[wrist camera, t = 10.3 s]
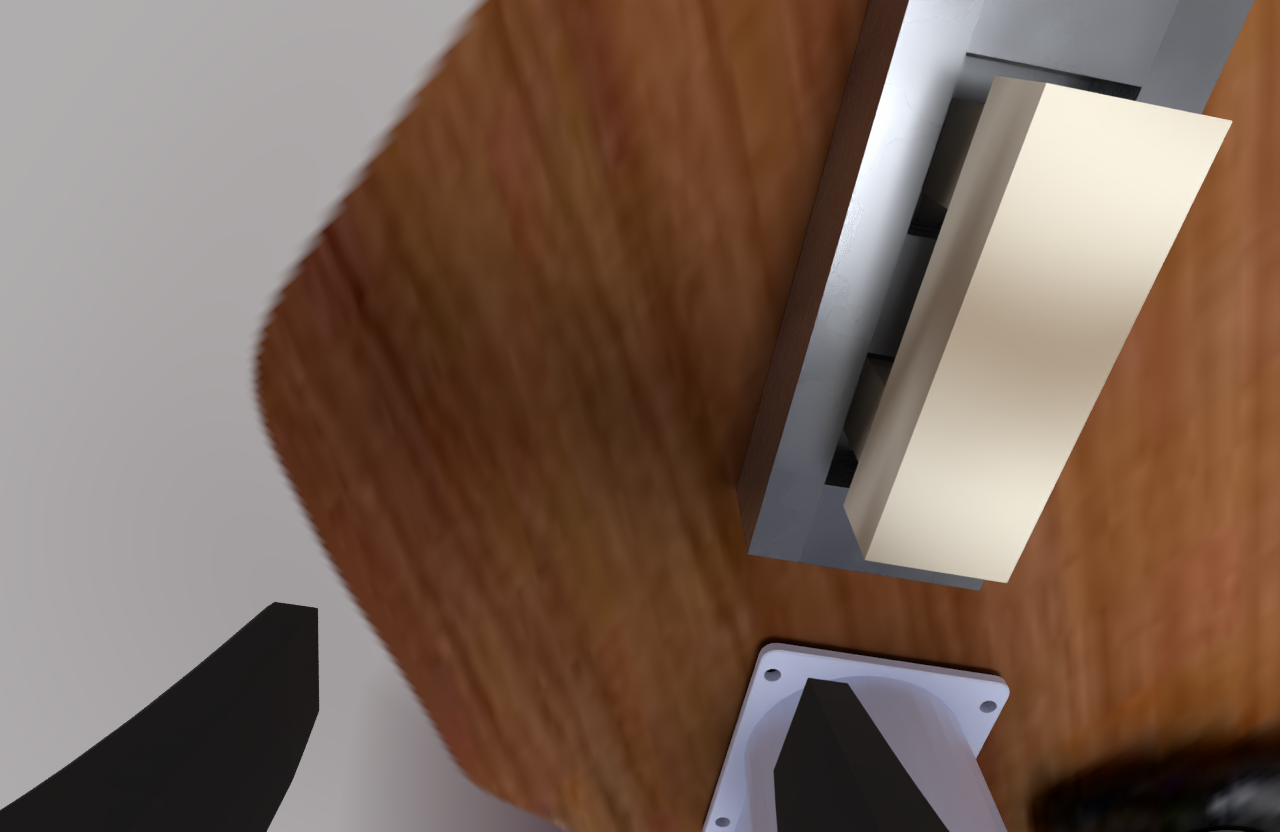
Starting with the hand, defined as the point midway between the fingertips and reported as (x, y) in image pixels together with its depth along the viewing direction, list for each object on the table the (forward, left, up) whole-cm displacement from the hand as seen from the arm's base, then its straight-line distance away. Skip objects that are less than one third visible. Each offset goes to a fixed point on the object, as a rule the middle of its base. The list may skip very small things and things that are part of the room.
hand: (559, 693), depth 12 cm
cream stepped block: (+5, -7, -9) cm, 13 cm away
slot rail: (+5, -7, -10) cm, 14 cm away
